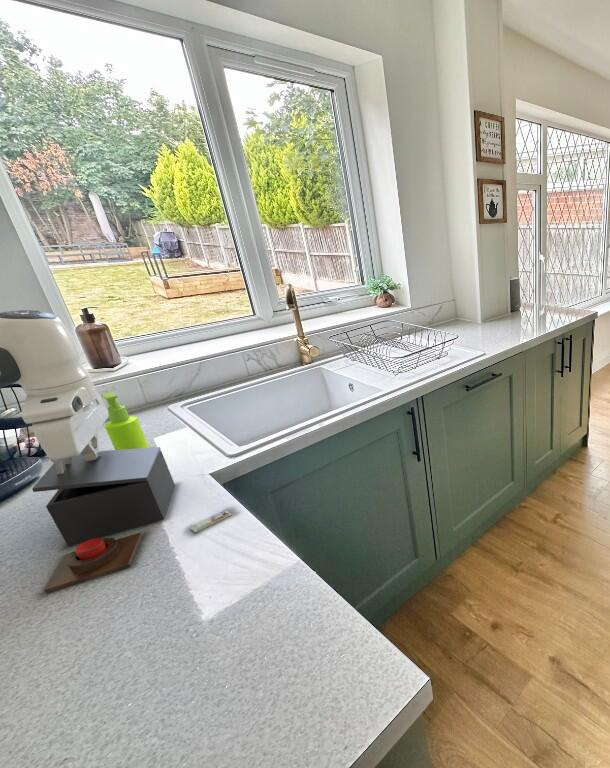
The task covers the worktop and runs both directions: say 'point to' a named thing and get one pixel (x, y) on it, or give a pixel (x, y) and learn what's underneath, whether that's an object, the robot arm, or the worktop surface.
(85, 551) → the button
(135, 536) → the button block
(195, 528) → the granola bar
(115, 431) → the soap dispenser
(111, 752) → the worktop surface
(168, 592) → the worktop surface
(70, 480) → the box lid
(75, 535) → the grey lidded storage box
